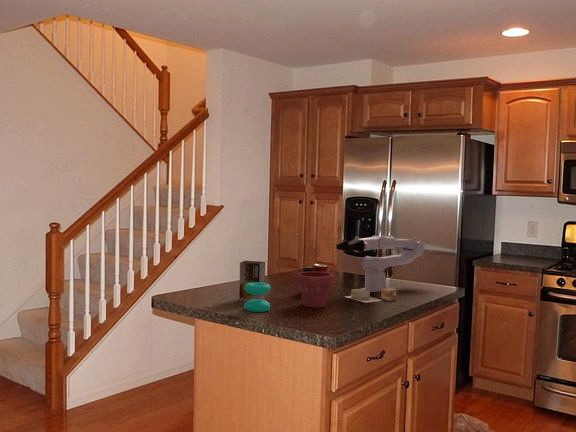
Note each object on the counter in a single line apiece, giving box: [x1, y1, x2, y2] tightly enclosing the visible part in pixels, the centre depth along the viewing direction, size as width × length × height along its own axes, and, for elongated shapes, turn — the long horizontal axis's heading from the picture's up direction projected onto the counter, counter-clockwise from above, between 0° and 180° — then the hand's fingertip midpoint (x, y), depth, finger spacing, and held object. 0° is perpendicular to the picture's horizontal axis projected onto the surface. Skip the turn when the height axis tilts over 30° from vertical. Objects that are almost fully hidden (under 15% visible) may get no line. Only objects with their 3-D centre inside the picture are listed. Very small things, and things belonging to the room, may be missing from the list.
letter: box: [344, 295, 384, 304], centre depth 248 cm, size 10×14×1 cm
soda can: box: [311, 263, 329, 273], centre depth 262 cm, size 7×7×12 cm
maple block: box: [380, 287, 397, 302], centre depth 248 cm, size 4×4×4 cm
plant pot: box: [297, 271, 334, 308], centre depth 232 cm, size 14×14×13 cm
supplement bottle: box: [299, 266, 314, 295], centre depth 255 cm, size 7×7×12 cm
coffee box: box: [238, 260, 266, 302], centre depth 237 cm, size 9×6×16 cm
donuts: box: [243, 282, 272, 313], centre depth 220 cm, size 10×10×10 cm
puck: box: [350, 288, 371, 300], centre depth 250 cm, size 8×8×3 cm
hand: (342, 247), depth 255 cm, fingers open, 7 cm apart
